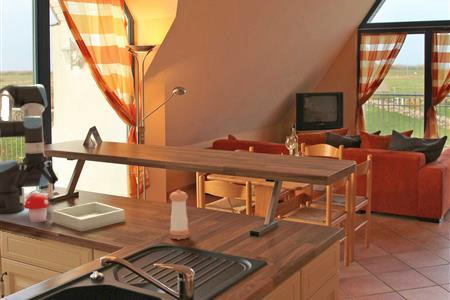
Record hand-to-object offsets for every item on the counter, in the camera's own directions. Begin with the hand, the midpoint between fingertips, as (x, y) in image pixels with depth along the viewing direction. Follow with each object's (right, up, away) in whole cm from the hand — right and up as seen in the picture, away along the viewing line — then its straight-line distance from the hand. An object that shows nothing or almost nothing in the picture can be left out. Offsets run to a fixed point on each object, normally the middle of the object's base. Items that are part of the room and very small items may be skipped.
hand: (37, 200), depth 252 cm
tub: (+23, -9, 0) cm, 24 cm away
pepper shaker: (+64, -13, -25) cm, 70 cm away
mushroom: (0, -9, +2) cm, 9 cm away
